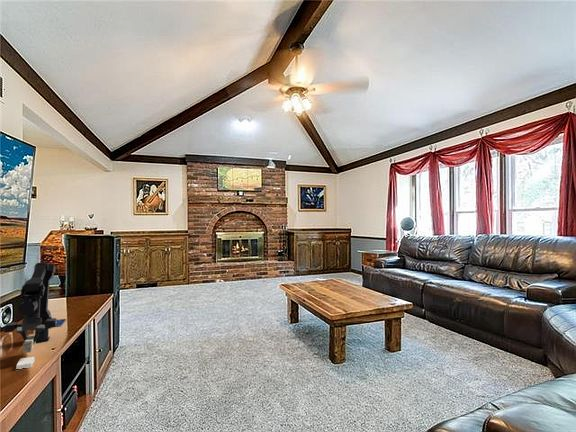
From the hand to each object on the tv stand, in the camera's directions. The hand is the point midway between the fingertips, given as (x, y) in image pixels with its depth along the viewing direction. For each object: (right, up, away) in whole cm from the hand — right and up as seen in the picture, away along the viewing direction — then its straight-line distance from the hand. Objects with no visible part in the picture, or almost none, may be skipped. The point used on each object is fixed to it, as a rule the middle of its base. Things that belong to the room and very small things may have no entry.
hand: (30, 343), depth 148 cm
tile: (+3, -5, -6) cm, 8 cm away
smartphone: (-22, -8, +48) cm, 54 cm away
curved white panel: (+1, -1, -2) cm, 2 cm away
